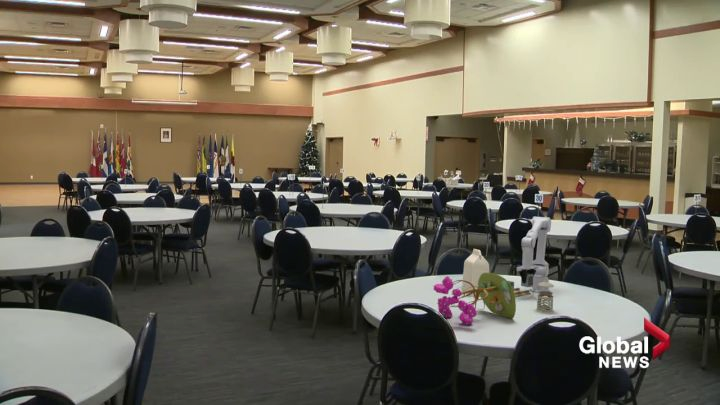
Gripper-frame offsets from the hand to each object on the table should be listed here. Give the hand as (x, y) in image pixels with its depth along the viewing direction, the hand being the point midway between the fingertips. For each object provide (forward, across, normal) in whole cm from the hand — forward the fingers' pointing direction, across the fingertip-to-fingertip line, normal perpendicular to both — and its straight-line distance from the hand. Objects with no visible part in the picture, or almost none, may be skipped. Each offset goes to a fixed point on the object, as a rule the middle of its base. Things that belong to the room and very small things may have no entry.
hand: (526, 282), depth 363 cm
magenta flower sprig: (+9, -59, -22) cm, 63 cm away
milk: (+9, -20, +20) cm, 30 cm away
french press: (+9, -14, -26) cm, 31 cm away
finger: (+2, 0, 0) cm, 2 cm away
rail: (+9, 0, +10) cm, 13 cm away
